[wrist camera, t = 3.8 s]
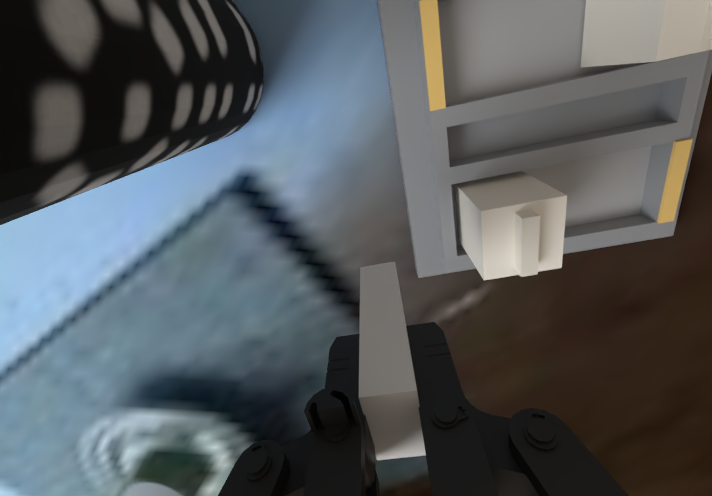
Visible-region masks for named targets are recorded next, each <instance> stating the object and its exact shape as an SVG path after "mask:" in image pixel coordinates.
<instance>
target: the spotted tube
mask: <svg viewBox="0 0 712 496" xmlns="http://www.w3.org/2000/svg"><path fill="white" fill-rule="evenodd" d="M262 87H263V63H262V57H261V52H260V49H259V46H258V43H257V40H256V37H255V34H254V32H253V31H252V29H251V27H250V25H249V23H248V21H247V19H246V18H245V17H244V15H243V14H242V13H241V11H240V10H239V9H238V8H237V6H236V5H235V4H234V3H233V2H232V1H231V0H0V225H2V224H4V223H7V222H9V221H12V220H14V219H17V218H20V217H22V216H25V215H27V214H30V213H32V212H35V211H37V210H40V209H43V208H45V207H48V206H50V205H53V204H55V203H58V202H61V201H63V200H66V199H68V198H71V197H73V196H76V195H79V194H81V193H84V192H86V191H89V190H91V189H94V188H96V187H99V186H102V185H104V184H107V183H109V182H112V181H114V180H117V179H120V178H122V177H125V176H127V175H130V174H132V173H135V172H137V171H140V170H143V169H145V168H148V167H150V166H153V165H155V164H158V163H161V162H163V161H166V160H168V159H171V158H173V157H176V156H179V155H181V154H184V153H186V152H189V151H191V150H194V149H196V148H199V147H202V146H204V145H207V144H209V143H212V142H214V141H217V140H220V139H222V138H225V137H227V136H229V135H231V134H233V133H235V132H236V131H238V130H239V129H240V128H242V127H243V126H244V125H245V124H246V123H247V122H248V121H249V119H250V118H251V116H252V115H253V113H254V112H255V110H256V108H257V105H258V103H259V100H260V98H261V93H262Z"/></svg>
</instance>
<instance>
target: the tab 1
mask: <svg viewBox="0 0 712 496" xmlns="http://www.w3.org/2000/svg"><path fill="white" fill-rule="evenodd" d="M455 194H456V207H457V220H458V233H459V242H460V243H461V245H462V246H463V248H464V250H465V251H466V253H467V254H468V256H469V257H470V259H471V261H472V262H473V264H474V265H475V267H476V269H477V270H478V272H479V273H480V275H481V277H482V278H483V280H489V279H496V278H502V277H508V276H514V275H520V276H521V277H524V276H530V275H536V274H538V272H539V271H545V270H551V269H557V268H562V257H563V244H564V231H565V218H566V205H567V195H566V194H564V193H562V192H560V191H558V190H556V189H554V188H553V187H551V186H549V185H547V184H545V183H543V182H541V181H540V180H538V179H536V178H534V177H532V176H530V175H528V174H527V173H525V172H523V171H519V172H514V173H508V174H503V175H498V176H493V177H488V178H483V179H477V180H472V181H467V182H462V183H457V184H455Z"/></svg>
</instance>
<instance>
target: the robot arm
mask: <svg viewBox="0 0 712 496" xmlns="http://www.w3.org/2000/svg"><path fill="white" fill-rule="evenodd" d="M328 361H329V363H328V368H327V376H326V384H325V389H322V390H321V391H319V392H318V393H316V394H315V395H313V397H312V398H311V399H310V400H309V401H308V403H307V405H306V408H305V410H304V412H305V415H306V417H307V420H308V422H309V424H310V427H311V429H312V430H310V431H309V432H308V433H307V434H306V435H304V436H302V437H300V438H298V439H296V440H294V441H292V442H290V443H287V444H285V445H283V446H280V444H279V443H278V442H275V441H273V440H261V441H259V442H257V443H254V444H252V445H251V446H250V447H249V448H247V449H246V450H245V451H244V452H243V453H242V454H241V456H240V457H239V459H238V460H237V461H236V463H235V465H234V467H233V469H232V471H231V473H230V474H229V476H228V478H227V480H226V482H225V484H224V486H223V487H222V489H221V491H220V493H219V495H218V496H379V482H378V477H377V473H376V470H375V455H376V458H377V460H385V459H395V458H405V457H414V456H424V455H426V458H427V464H428V471H429V477H430V483H431V489H432V495H433V496H628V494H627V493H626V492H625V491H624V490H623V489H622V488H621V486H620V485H619V484H618V483H617V482H616V481H615V480H614V479H613V477H612V476H611V475H610V474H609V473H608V472H607V471H606V469H605V468H604V467H603V466H602V465H601V464H600V463H599V462H598V460H597V459H596V458H595V457H594V456H593V455H592V454H591V452H590V451H589V450H588V449H587V448H586V447H585V446H584V445H583V443H582V442H581V441H580V440H579V439H578V438H577V437H576V436H575V434H574V433H573V432H572V431H571V430H570V429H569V428H568V426H567V425H566V424H565V423H563V422H562V421H561V420H560V419H559V418H557V417H556V416H555V415H552V414H550V413H548V412H546V411H544V410H538V409H532V408H531V409H525V410H521V411H519V412H517V413H516V414H514V415H513V417H512V418H505V417H500V416H494V415H490V414H487V413H484V412H482V411H480V410H478V409H476V408H475V407H474V406H472V405H471V404H470V403H469V402H468V400H467V399H466V398H465V396H464V394H463V392H462V389H461V385H460V382H459V379H458V376H457V373H456V370H455V367H454V363H453V360H452V357H451V355H450V351H449V348H448V345H447V341H446V338H445V335H444V332H443V330H442V329H441V328H440V327H439V326H438V325H437V324H436V323H435V322H431V323H424V324H417V325H410V326H406V322H405V317H404V311H403V305H402V300H401V294H400V288H399V282H398V277H397V271H396V265H395V262H390V263H384V264H378V265H372V266H366V267H361V269H360V334H355V335H348V336H341V337H336V339H335V341H334V342H333V344H332V346H331V347H330V351H329V360H328Z"/></svg>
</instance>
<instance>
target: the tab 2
mask: <svg viewBox="0 0 712 496" xmlns="http://www.w3.org/2000/svg"><path fill="white" fill-rule="evenodd" d="M707 50H712V0H586V6H585V19H584V31H583V43H582V55H581V67H593V66H606V65H619V64H632V63H645V62H656V61H661V60H666V59H670V58H675V57H679V56H684V55H689V54H693V53H698V52H703V51H707Z"/></svg>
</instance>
